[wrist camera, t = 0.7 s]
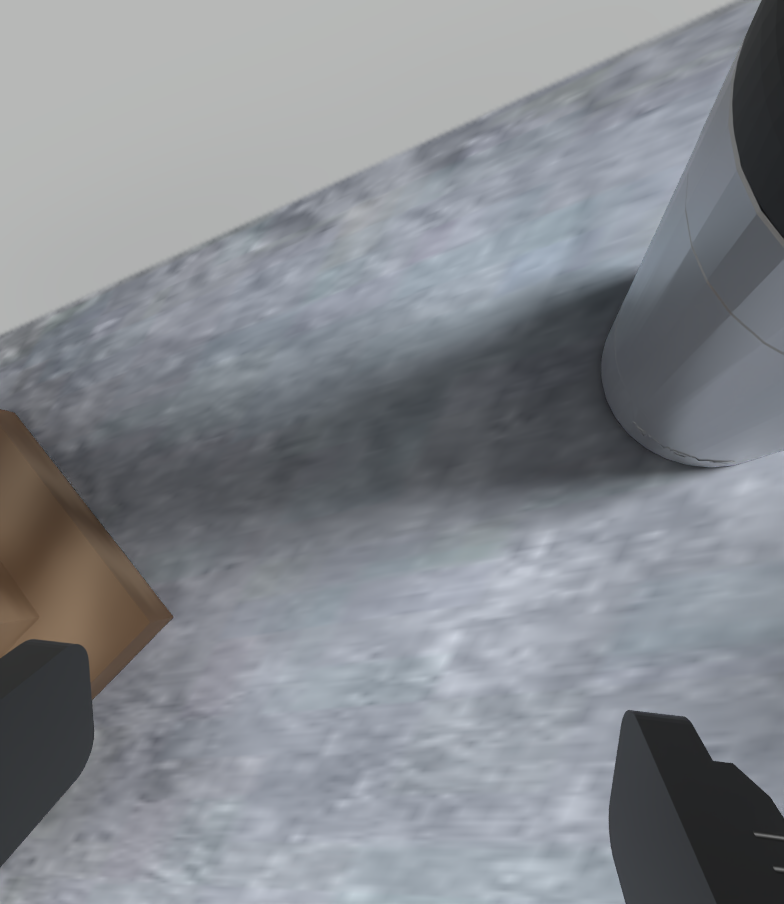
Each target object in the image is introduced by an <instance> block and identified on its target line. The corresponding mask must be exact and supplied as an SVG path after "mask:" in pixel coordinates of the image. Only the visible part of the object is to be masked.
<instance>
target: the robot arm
mask: <svg viewBox="0 0 784 904" xmlns="http://www.w3.org/2000/svg"><path fill="white" fill-rule="evenodd" d="M601 378H602V384H603V388H604V392H605V396H606V400H607V402H608V404H609V406H610V408H611V410H612V412H613V414H614V416H615V418H616V419H617V420H618V422H619V423H620V424H621V425H622V427H623V428H624V429H625V430H626V432H627V433H628V434H629V435H630V436H631V437H633V438H634V439H635V440H636V441H638V442H639V443H640V444H641V445H642V446H644V447H645V448H646V449H648V450H650V451H652V452H654V453H656V454H658V455H660V456H662V457H664V458H665V459H669V460H672V461H675V462H679V463H682V464H685V465H691V466H701V467H722V466H732V465H737V464H741V463H744V462H747V461H751V460H754V459H757V458H761V457H764V456H767V455H770V454H773V453H777V452H780V451H784V0H762V1H761V3H760V5H759V7H758V10H757V12H756V14H755V16H754V18H753V20H752V23H751V25H750V27H749V29H748V32H747V34H746V36H745V38H744V40H743V42H742V44H741V47H740V49H739V51H738V53H737V55H736V57H735V60H734V62H733V64H732V66H731V68H730V70H729V73H728V75H727V77H726V79H725V81H724V83H723V86H722V88H721V90H720V92H719V94H718V97H717V99H716V101H715V103H714V105H713V107H712V110H711V112H710V114H709V116H708V118H707V120H706V123H705V125H704V127H703V129H702V131H701V134H700V136H699V139H698V142H697V144H696V146H695V148H694V150H693V152H692V155H691V157H690V159H689V161H688V163H687V165H686V168H685V170H684V172H683V174H682V176H681V178H680V181H679V183H678V185H677V187H676V189H675V191H674V194H673V196H672V198H671V200H670V202H669V204H668V207H667V209H666V211H665V213H664V215H663V217H662V220H661V222H660V224H659V226H658V228H657V230H656V233H655V235H654V237H653V239H652V241H651V243H650V246H649V248H648V250H647V252H646V254H645V256H644V259H643V261H642V263H641V265H640V267H639V269H638V272H637V274H636V276H635V278H634V280H633V282H632V285H631V287H630V289H629V291H628V293H627V295H626V297H625V299H624V301H623V303H622V305H621V308H620V310H619V312H618V314H617V317H616V319H615V321H614V323H613V326H612V328H611V330H610V332H609V334H608V337H607V339H606V341H605V346H604V350H603V355H602V359H601ZM93 740H94V723H93V709H92V696H91V682H90V669H89V658H88V654H87V651H86V649H85V648H84V647H83V646H82V645H80V644H72V643H64V642H55V641H47V640H38V639H30V640H27V641H25V642H23V643H21V644H20V645H18V646H17V647H15V648H14V649H13V650H11V651H10V652H8V653H7V654H6V655H4V656H3V657H1V658H0V867H1V866H2V865H3V864H4V863H5V861H6V860H7V859H8V858H9V857H10V856H11V854H12V853H13V852H14V851H15V850H16V849H17V848H18V846H19V845H20V844H21V843H22V842H23V841H24V839H25V838H26V837H27V836H28V835H29V834H30V833H31V831H32V830H33V829H34V828H35V827H36V826H37V824H38V823H39V822H40V821H41V820H42V819H43V817H44V816H45V815H46V814H47V813H48V812H49V811H50V809H51V808H52V807H53V806H54V805H55V804H56V802H57V801H58V800H59V799H60V798H61V797H62V796H63V794H64V793H65V792H66V791H67V790H68V789H69V787H70V786H71V785H72V784H73V783H74V782H75V781H76V779H77V778H78V777H79V775H80V774H81V772H82V771H83V769H84V767H85V765H86V763H87V761H88V758H89V756H90V753H91V749H92V745H93ZM609 834H610V843H611V849H612V855H613V859H614V863H615V866H616V870H617V874H618V877H619V881H620V885H621V888H622V892H623V895H624V899H625V903H626V904H784V818H783V816H782V815H781V813H780V812H779V810H778V808H777V807H776V805H775V804H774V802H773V801H772V799H771V798H770V797H769V796H768V795H767V794H766V793H765V792H764V791H763V790H762V789H761V788H759V787H758V786H757V785H756V784H755V783H754V782H753V781H752V780H751V779H749V778H748V777H747V776H746V775H745V774H744V773H743V772H742V771H741V770H739V769H738V768H737V767H736V766H735V765H734V764H733V763H725V762H717V761H713V760H712V758H711V757H710V755H709V753H708V751H707V750H706V748H705V746H704V744H703V743H702V741H701V739H700V737H699V736H698V734H697V732H696V730H695V728H694V727H693V725H692V723H691V722H690V721H689V720H688V719H687V718H686V717H683V716H674V715H666V714H657V713H649V712H640V711H632V710H628V711H626V712H625V714H624V716H623V719H622V724H621V730H620V736H619V743H618V750H617V756H616V763H615V770H614V777H613V783H612V790H611V797H610V804H609Z"/></svg>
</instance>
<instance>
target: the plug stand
mask: <svg viewBox="0 0 784 904" xmlns="http://www.w3.org/2000/svg"><path fill="white" fill-rule="evenodd" d="M172 618H173V616H172V614H171V613H170V612H169V611H168V609H167V608H166V607H165V605H164V604H163V603H162V602H161V600H160V599H159V598H158V597H157V595H156V594H155V593H154V591H153V590H152V589H151V588H150V586H149V585H148V584H147V582H146V581H145V580H144V579H143V577H142V576H141V575H140V573H139V572H138V571H137V570H136V568H135V567H134V566H133V564H132V563H131V562H130V561H129V559H128V558H127V557H126V555H125V554H124V553H123V552H122V550H121V549H120V548H119V546H118V545H117V544H116V543H115V541H114V540H113V539H112V537H111V536H110V535H109V534H108V532H107V531H106V530H105V528H104V527H103V526H102V525H101V523H100V522H99V521H98V519H97V518H96V517H95V516H94V514H93V513H92V512H91V510H90V509H89V508H88V507H87V505H86V504H85V503H84V501H83V500H82V499H81V498H80V496H79V495H78V494H77V492H76V491H75V490H74V489H73V487H72V486H71V485H70V483H69V482H68V481H67V480H66V478H65V477H64V476H63V474H62V473H61V472H60V471H59V469H58V468H57V467H56V465H55V464H54V463H53V462H52V460H51V459H50V458H49V456H48V455H47V454H46V453H45V451H44V450H43V449H42V447H41V446H40V445H39V444H38V442H37V441H36V440H35V438H34V437H33V436H32V435H31V433H30V432H29V431H28V429H27V428H26V427H25V426H24V424H23V423H22V422H21V420H20V419H19V418H18V417H17V415H16V414H15V413H13V412H9V411H5V410H1V409H0V658H1V657H3V656H4V655H6V654H7V653H8V652H10V651H11V650H13V649H14V648H15V647H17V646H18V645H20V644H21V643H23V642H25V641H27V640H30V639H38V640H47V641H55V642H64V643H72V644H80V645H82V646H83V647H84V648H85V649H86V651H87V654H88V658H89V669H90V682H91V696H92V700H93V699H94V698H95V697H96V696H97V695H98V694H99V693H100V692H101V691H102V690H103V689H104V687H105V686H106V685H107V684H108V683H109V682H110V681H111V680H112V679H113V678H114V677H115V676H116V675H117V674H118V673H119V672H120V671H121V670H122V669H123V668H124V667H125V666H126V665H127V664H128V663H129V662H130V661H131V660H132V659H133V658H134V657H135V656H136V655H137V654H138V653H139V652H140V651H141V650H142V649H143V648H144V647H145V646H146V645H147V644H148V643H149V642H150V641H151V640H152V639H153V638H154V637H155V635H156V634H157V633H158V632H159V631H160V630H161V629H162V628H163V627H164V626H165V625H166V624H167V623H168V622H169V621H170V620H171V619H172Z"/></svg>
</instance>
